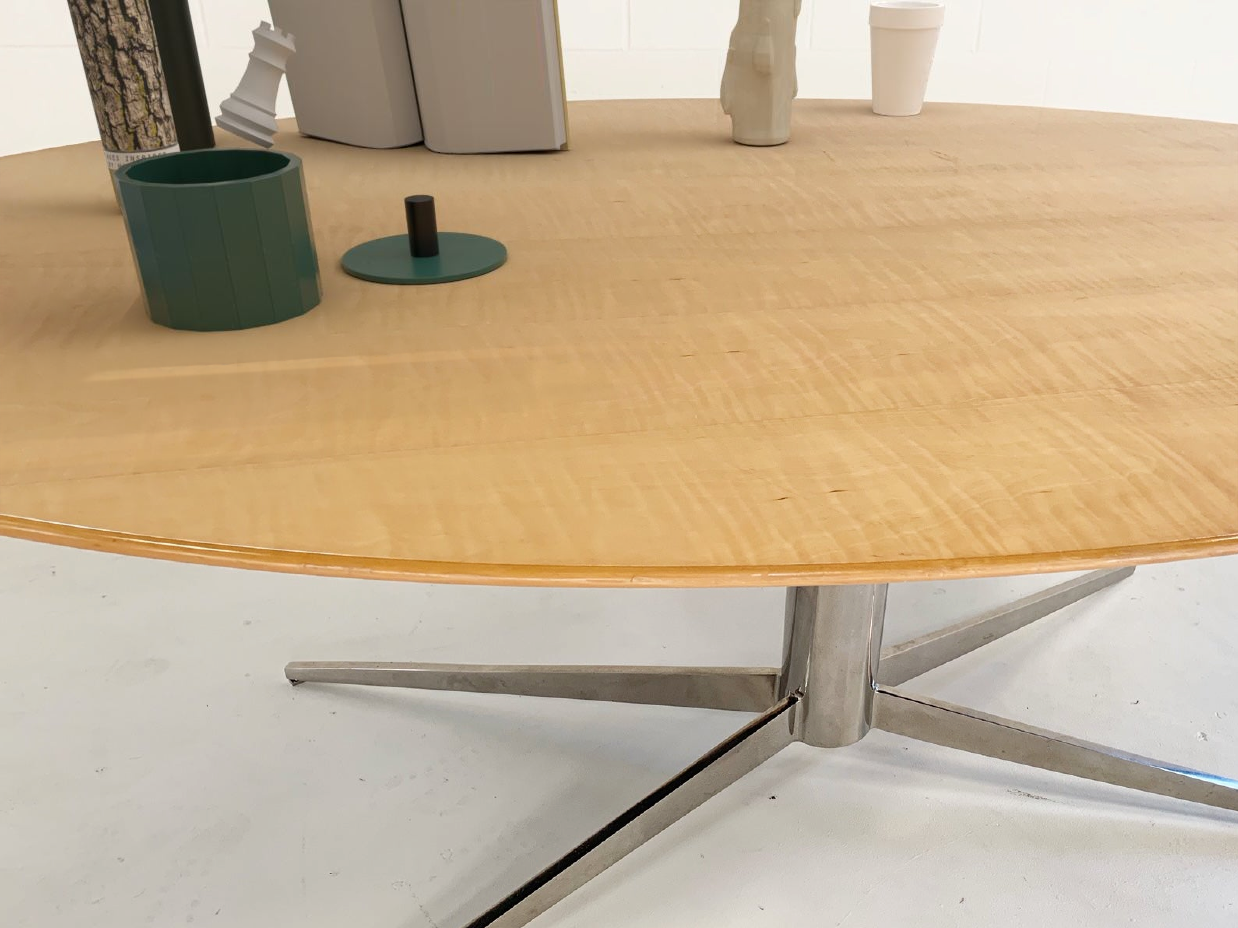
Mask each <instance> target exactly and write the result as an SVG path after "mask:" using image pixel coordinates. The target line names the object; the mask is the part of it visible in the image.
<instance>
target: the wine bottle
mask: <svg viewBox="0 0 1238 928" xmlns="http://www.w3.org/2000/svg"><path fill="white" fill-rule="evenodd" d="M148 3H149V7H150V12H151V17H152V21H153V26H154V31H155V36H156V40H157V45H158V50H159V54H160V59H161V64H162V69H163V73H164V78H165V83H166V87H167V92H168V97H169V101H170V106H171V111H172V116H173V120H174V125H175V130H176V134H177V139H178V141H177V142H178V144H179V149H180V151H189V150H198V149H209V148H214V147H216V144H217V143H216V139H215V134H214V133H215V132H214V129H213V122H212V119H211V117H212V116H211V113H210V107H209V102H208V97H207V92H206V87H205V82H204V81H205V80H204V76H203V71H202V65H201V62H200V61H201V60H200V56H199V51H198V44H197V41H196V35H195V29H194V24H193V19H192V15H191V10H190V9H191V8H190V5H189V4H190V3H189V0H148Z"/></svg>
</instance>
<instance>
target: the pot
mask: <svg viewBox="0 0 1238 928" xmlns="http://www.w3.org/2000/svg"><path fill="white" fill-rule="evenodd" d="M304 171H305V170H304V165H303V159H302V158H300V157H299V156H298V155H296V154H294V153H293V152H289V151H283V150H277V149H272V148H262V147H261V148H260V147H259V148H258V147H240V146H239V147H238V146H237V147H215V148H214V147H212V148H209V149H198V150H189V151H180V152H173V153H167V154H162V155H157V156H152V157H146V158H142V159H139V160H136V161H133V162H130V163H127V164H125V165H122V166H120V167H119V168H118V169H117V170H116V171H115V172H114V173H113V179H114V183H115V187H116V191H117V195H118V199H119V203H120V207H121V208H120V207H119V208H120V211H121V215H122V219H123V223H124V227H125V231H126V234H127V239H128V244H129V248H130V252H131V256H132V260H133V264H134V268H135V272H136V277H137V281H138V285H139V290H140V293H141V297H142V301H143V306H144V310H145V313H146V315H147V316H148V318H149V319H150V320H151V322H152V323H153V324H156V325H159V326H162V327H165V328H168V329H172V330H176V331H177V330H178V331H189V332H199V333H213V332H214V333H215V332H233V331H244V330H248V329H249V330H250V329H254V328H261V327H266V326H270V325H277V324H279V323H282V322H286V321H288V320H292V319H295V318H297V317H300V316H304V315H305V314H307V313H308V312H310V311H311V310H313V309H314V308H316V307H318V306H319V305H320V304H321V303H322V299H323V296H324V292H323V291H324V290H323V284H322V279H321V271H320V265H319V259H318V254H317V246H316V241H315V235H314V228H313V221H312V215H311V207H310V202H309V196H308V190H307V182H306V176H305V172H304Z"/></svg>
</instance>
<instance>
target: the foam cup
mask: <svg viewBox="0 0 1238 928" xmlns="http://www.w3.org/2000/svg"><path fill="white" fill-rule="evenodd" d="M945 9H946V5H945V4H944V3H941V2H935V1H934V2H933V1H919V0H888V1H887V0H886V1H875V2H871V3H870V4H869V16H868V25H869V28H870V29H869V31H870V34H869V35H870V67H871V68H870V69H871V70H870V71H871V72H870V73H871V101H872V102H871V103H872V104H871V106H872V112H873V113H874V114H877V115H882V116H890V117H892V116H894V117H905V116H906V117H909V116H916V115H919V114H920V113H921V109H922V107H923V103H924V99H925V95H926V90H927V87H928V82H929V78H930V73H931V69H932V65H933V60H934V56H935V52H936V49H937V44H938V39H939V35H940V32H941V27H942V26H943V24H944V17H945Z"/></svg>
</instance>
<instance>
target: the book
mask: <svg viewBox="0 0 1238 928" xmlns="http://www.w3.org/2000/svg"><path fill="white" fill-rule="evenodd" d="M267 5H268V9H269V13H270V17H271V21H272V25H273V30H274V29H275V26H276V27H278V28H280V29H282V33H281V35H283V36H285V34H286V32H288V33H290V34H292V35H293V36H295V37H296V38H295V41H294V46H295V50H296V54H294V55H293V56H291V57H290V58H288V59H287V61H286V64H285V69H286V73H284V75H285V79H286V84H287V87H288V92H289V96H290V100H291V103H292V108H293V113H294V117H295V120H296V125H297V128H298V129H297V133H298V134H302V135H307V136H310V137H315V138H320V139H325V140H329V141H333V142H337V143H342V144H346V145H351V146H355V147H358V148H366V149H367V148H368V149H375V150H383V149H384V150H386V149H396V148H401V147H406V146H410V145H413V144H416V143H419V142H420V143H421V142H423V141H424V145H425V147H426V148H427V149H428V150H429V151H432V152H434V153H438V152H440V153H439V154H445V155H447V154H446V153H449V154H448V155H454V154H455V155H468V154H472V155H473V154H489V153H490V154H492V153H494V154H495V153H513V152H514V153H515V152H533V151H535V152H536V151H554V150H555V151H556V150H558V151H570V150H571V149H572V144H571V132H570V122H569V113H568V112H569V111H568V102H567V92H566V91H567V90H566V81H565V69H564V59H563V58H564V57H563V47H562V35H561V27H560V17H559V15H560V14H559V5H558V0H267ZM451 153H452V154H451Z"/></svg>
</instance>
